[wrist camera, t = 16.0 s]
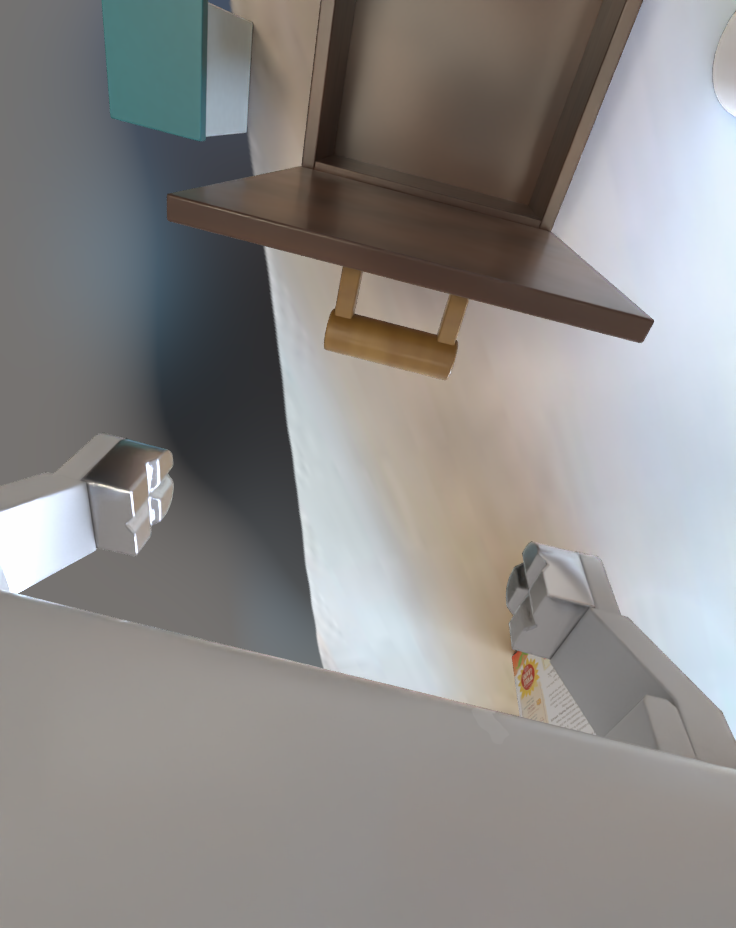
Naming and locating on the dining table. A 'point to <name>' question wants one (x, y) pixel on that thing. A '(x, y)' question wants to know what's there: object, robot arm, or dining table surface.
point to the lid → (410, 260)
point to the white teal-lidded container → (178, 66)
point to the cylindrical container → (726, 68)
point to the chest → (463, 97)
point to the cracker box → (545, 694)
